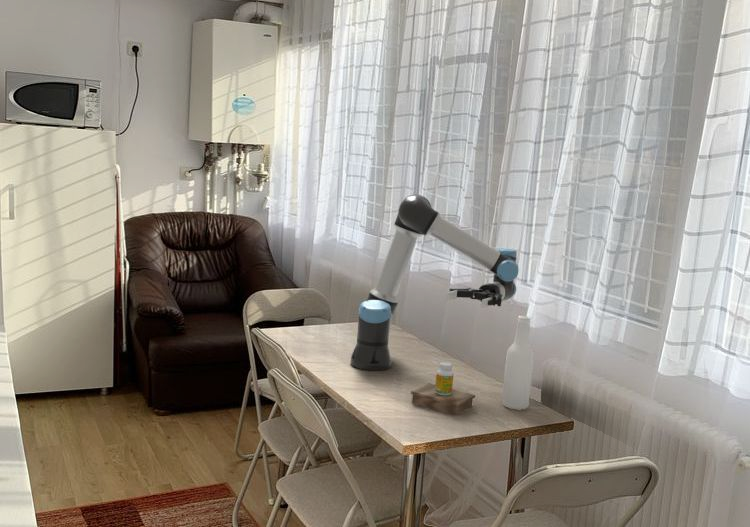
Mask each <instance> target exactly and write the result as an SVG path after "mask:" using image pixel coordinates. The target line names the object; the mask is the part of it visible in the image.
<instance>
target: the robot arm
mask: <svg viewBox="0 0 750 527" xmlns="http://www.w3.org/2000/svg"><path fill="white" fill-rule="evenodd" d="M397 211H398V213H397V215H396V219H395V221H394V223H393V225H394V227H395V233H394V236H393V239H392V241H391V244H390V246H389V250H388V252H387V255H386V258H385V260H384V263H383V266H382V268H381V272H380V275H379V276H378V277H379V278H378V280H377V284H376V286H375V288H373V289H370V290H369V293H368V296H367V299H366V300H365V301H363V302H361V303H360V305H359V309H358V322H357V334H356V335H357V336H356V337H357V338H356V345H355V346H354V349H353V351H352V353H351V357H350V365H351V366H352V367H354V368H356V369H359V370H360V369H361V370H365V371H385V370H388V369H390V368H392V358H391V357H392V356H391V354H390V353H391V352H390V348H389V337H390V326H391V324H392V321H393V319H394V317H395V312H396V310H397V307H398V304H399V301H400V300H399V299H398V293H399V290H400V287H401V284H402V282H403V279H404V276H405V274H406V270H407V268H408V266H409V262H410V259H411V257H412V254H413V251H414V248H415V246H416V243H417V240H418V238H419V237H422V236H425V237H428V236H430V237H432V238H434V239H435V240H437V241H439V242H441V243H442V244H444V245H445V246H447V247H448V248H450V249H452V250H453V251H456V252H458V253H459V254H461V255H463V256H464V257H465V258H467V259H469V260H471V261H472V262H474V263H476V264H478V265H479V266H481V267H482V268H484V269H486V270H488V271H489V272H491V273H493V280H492V281H491V282H489V283H484V284H482V285H481V286H480V287H479V288H476V289H475V288H473V289H472V288H471V287H469V288H468V287H467V288H449V291H447V292H446V295H445V300H446V301H451V300H455V299H457V298H463V299H464V298H465V299H466V298H467V299H468V298H469V299H471V300H478V301H480V302H481V304H480V306H481V308H482V309H483V308H487V307H491V306H493V307H494V306H496V305H497V307H501V306H502V302H503V301H508V300H509V299H511V298H513V297H514V296H515V295H516V292H517V286H516V283H515V281H514V280H515V279H517V277H518V276H519V270H520V269H519V265H518V264H517V251H516V250H515V249H509V248H498V249H497V250H496V249H494V248H493V247H491V246H490V245H487V244H486V243H484V242H483V241H481V240H480V239H478V238H476V237H475V236H474V235H473V236H472V235H471V234H469V233H467V232H466V231H464V230H463V229H461V228H459V227H458V226H456V225H455V224H453V223H451V222H450V221H448V220H447V219H445V218H442V216H441V214H440V212H439V211H437V210H435V209H434V208H432V204H431V202H430V200H429V199H428V198H426V197H425V196H422V195H421V194H411V195H408V196H406V197H404V199H403V200H402V201H401V203H400V204H399V207H398V210H397Z"/></svg>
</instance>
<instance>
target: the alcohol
mask: <svg viewBox="0 0 750 527" xmlns="http://www.w3.org/2000/svg"><path fill="white" fill-rule="evenodd" d="M531 319H532V317H530V316H528V315H518V319H517V326H516V332H515V337H514V341H513V343H512V344H511V345H510V346H509V347H508V348H507V351H506V358H505V359H506V360H505V366H504V375H503V385H502V395H501V404H502V406H503V405H504V406H505V407H504V406H503V407H504V408H506V407H508V408H507V409H509V408H512V409H511V410H513V409H524V410H526V409H528V407H529V405H530V397H531V390H532V389H531V388H532V380H533V379H532V378H533V371H534V370H533V369H534V363H535V362H534V360H535V353H534V350H533V349H532V347H531V344H530V330H531V329H530V328H531V327H530V326H531ZM525 408H526V409H525Z"/></svg>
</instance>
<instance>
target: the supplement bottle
mask: <svg viewBox="0 0 750 527" xmlns="http://www.w3.org/2000/svg"><path fill="white" fill-rule="evenodd" d="M438 367H439V369H437V370H436V376H435V385H436V386H435V392H436V393H437V394H439V395H451V394H452V389H453V384H454V382H453V381H454V371H453V370H452V369H453V363H450V362H447V361H442V362H440V363H439V366H438Z"/></svg>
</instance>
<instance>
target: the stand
mask: <svg viewBox="0 0 750 527" xmlns="http://www.w3.org/2000/svg"><path fill="white" fill-rule="evenodd" d="M435 386H436V384H434V383H429V382H428V383H426V384H424V385H422V386H419V387H417V388H415V389H413V390H411V391H410V394H411V395H412V397H411V398H412V401H411V404H414V405H416V406H417V405H418V406H420V407H421V406H422V407H424V408H428V409H432V410H434V411H435V410H436V411H439V412H442V413H446V414H450V415H453V416H459V415H460V414H462V413H464V412H465V411H467V409H468V410H469V409H471V408H473V399H475V398H476V394H474V393H473V394H472V393H468V392H465V391H461V390H457V389H453V388H452V394H451V395H439V394H437V393H436V392H435Z"/></svg>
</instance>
